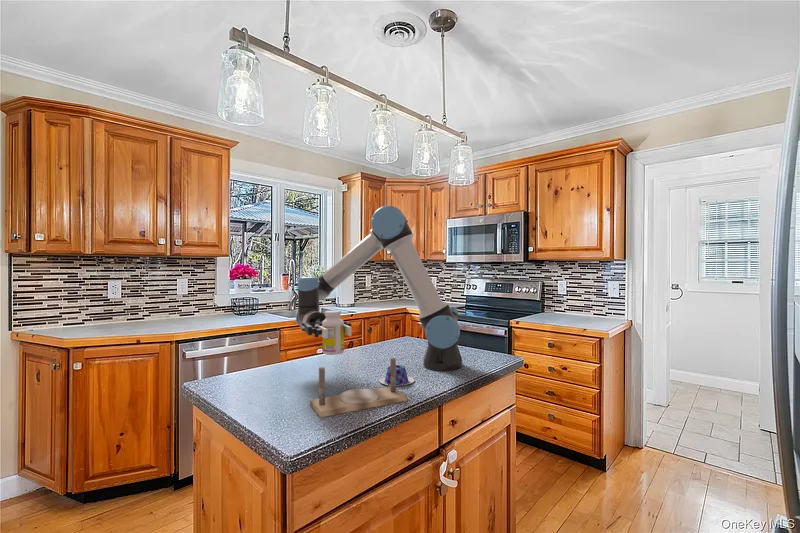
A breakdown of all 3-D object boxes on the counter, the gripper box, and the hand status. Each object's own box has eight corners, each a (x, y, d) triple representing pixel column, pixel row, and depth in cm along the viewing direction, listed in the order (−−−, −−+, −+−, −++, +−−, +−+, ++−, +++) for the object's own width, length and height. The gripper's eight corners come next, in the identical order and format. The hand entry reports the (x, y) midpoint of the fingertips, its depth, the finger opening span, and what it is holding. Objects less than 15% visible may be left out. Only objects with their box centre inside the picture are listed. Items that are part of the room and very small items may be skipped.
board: (390, 390, 125) (390, 354, 125) (408, 401, 116) (407, 361, 115) (309, 404, 113) (309, 364, 113) (321, 418, 103) (320, 374, 103)
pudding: (418, 386, 130) (418, 370, 130) (383, 389, 127) (382, 373, 127) (408, 376, 142) (408, 361, 142) (376, 378, 139) (375, 363, 139)
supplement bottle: (339, 349, 127) (338, 309, 126) (347, 353, 121) (347, 311, 121) (319, 352, 123) (318, 311, 123) (327, 356, 117) (326, 313, 117)
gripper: (343, 330, 142) (369, 341, 122) (287, 336, 133) (305, 349, 113) (343, 310, 142) (368, 317, 122) (287, 313, 133) (305, 322, 113)
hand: (338, 332), depth 117 cm, fingers closed on supplement bottle, 7 cm apart
